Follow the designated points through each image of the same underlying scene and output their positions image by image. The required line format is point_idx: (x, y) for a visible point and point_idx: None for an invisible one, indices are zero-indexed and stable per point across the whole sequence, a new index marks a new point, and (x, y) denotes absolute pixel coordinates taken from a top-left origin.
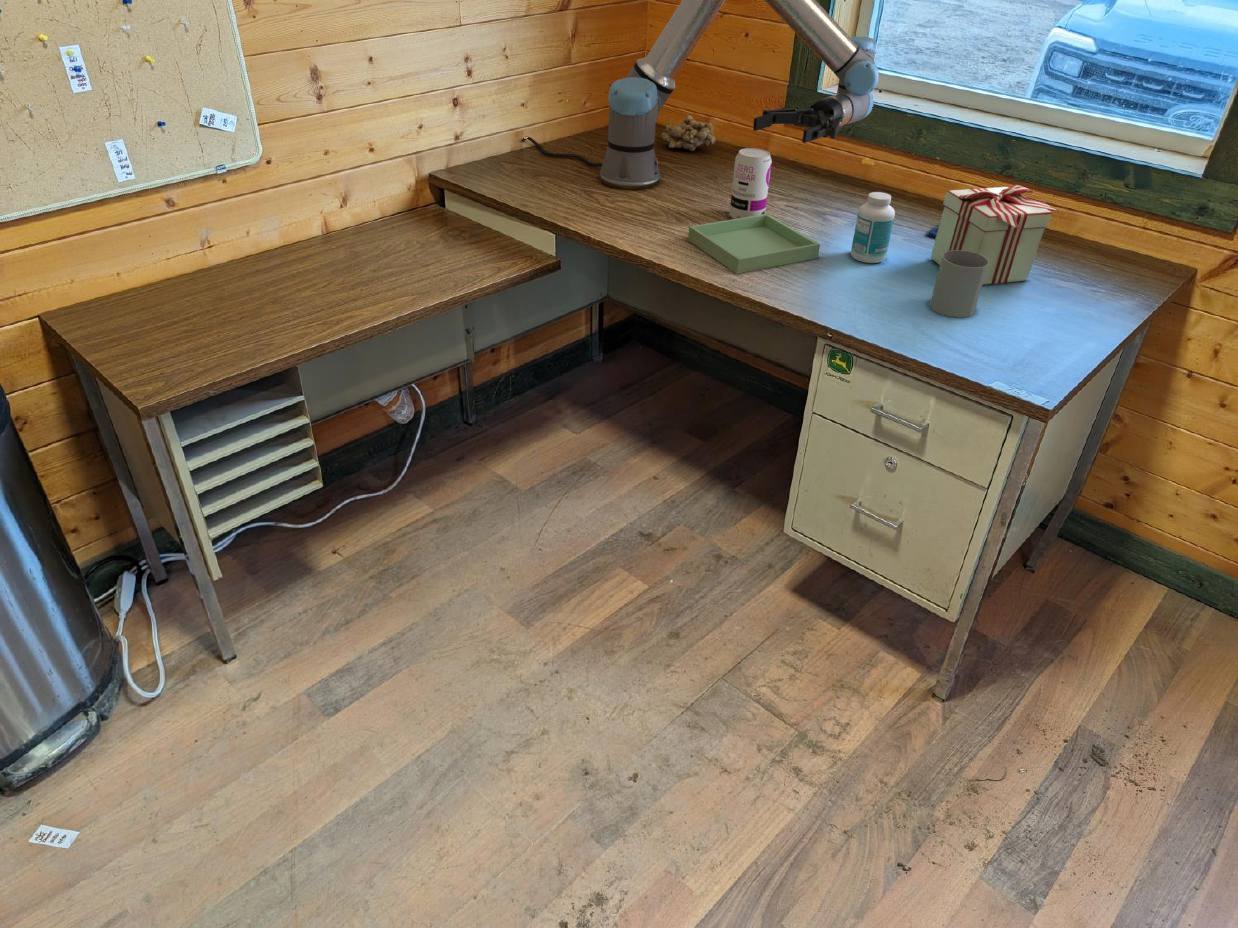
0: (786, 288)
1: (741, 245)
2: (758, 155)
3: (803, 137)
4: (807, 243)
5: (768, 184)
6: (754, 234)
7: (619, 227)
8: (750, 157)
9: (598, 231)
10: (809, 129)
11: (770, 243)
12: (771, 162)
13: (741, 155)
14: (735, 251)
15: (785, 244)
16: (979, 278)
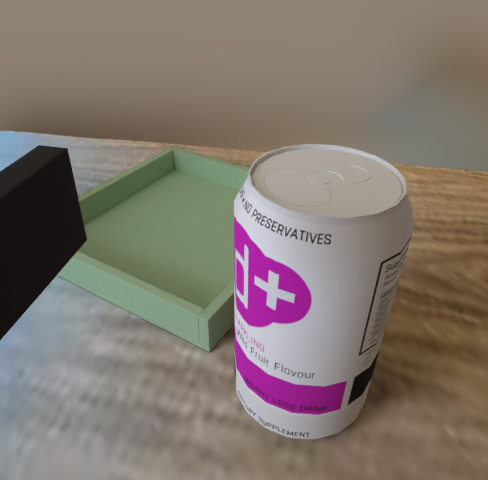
0: (83, 167)
1: (209, 225)
2: (294, 171)
3: (73, 202)
4: None
5: (236, 297)
6: (208, 277)
7: (474, 206)
8: (304, 146)
9: (479, 184)
10: (9, 166)
11: (151, 256)
12: (236, 216)
13: (351, 152)
14: (208, 205)
15: (114, 266)
16: None
